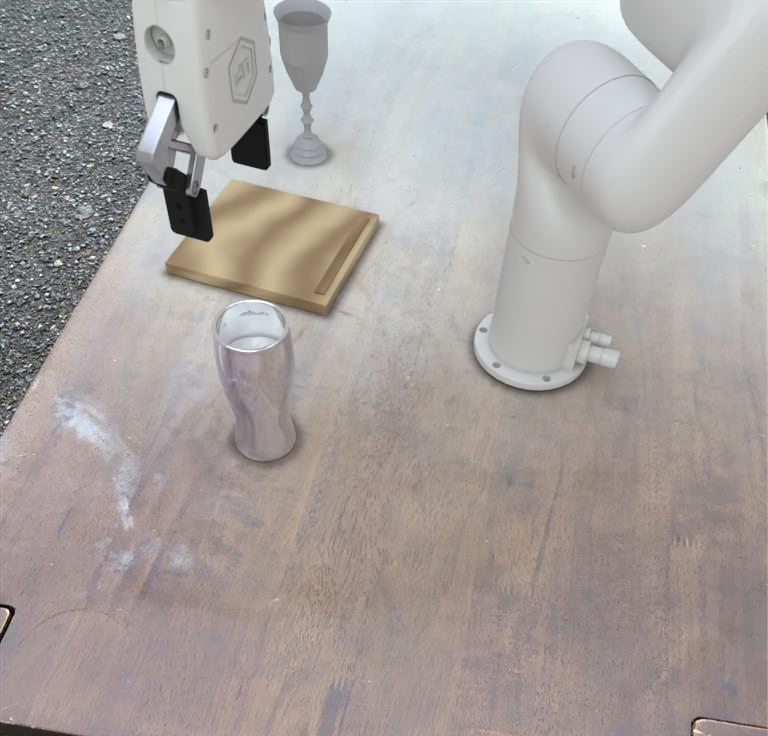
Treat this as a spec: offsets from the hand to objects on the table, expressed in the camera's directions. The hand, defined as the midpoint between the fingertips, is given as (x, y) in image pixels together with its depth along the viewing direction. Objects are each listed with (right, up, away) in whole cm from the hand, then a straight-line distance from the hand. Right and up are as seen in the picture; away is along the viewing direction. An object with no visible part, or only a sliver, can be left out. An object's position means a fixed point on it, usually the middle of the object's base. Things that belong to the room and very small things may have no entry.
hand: (223, 198), depth 62 cm
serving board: (-1, +8, +37) cm, 38 cm away
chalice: (+2, +25, +49) cm, 55 cm away
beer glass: (0, -17, +20) cm, 26 cm away
